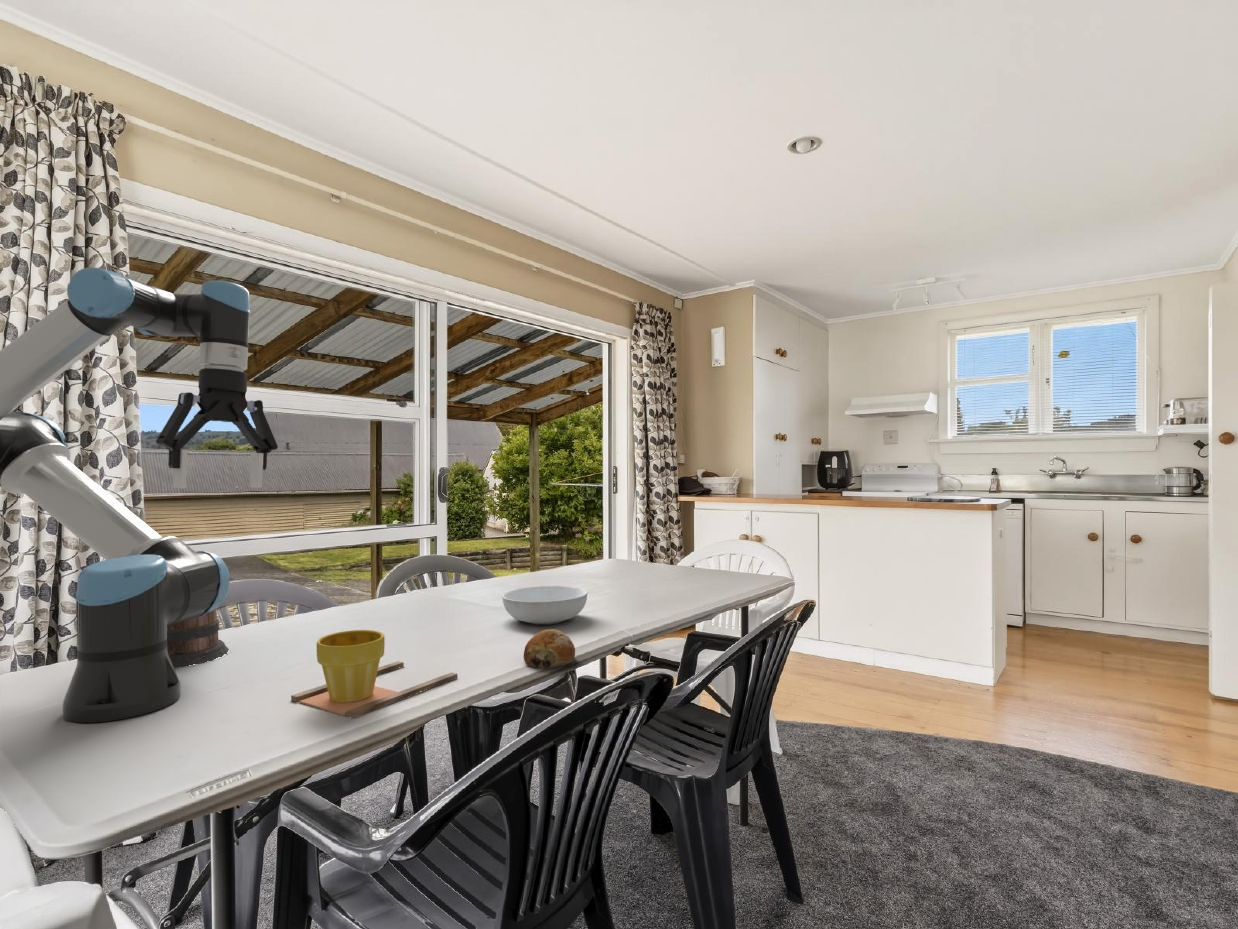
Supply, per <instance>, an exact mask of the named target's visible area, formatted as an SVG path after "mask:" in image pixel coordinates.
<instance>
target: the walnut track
mask: <svg viewBox="0 0 1238 929" xmlns="http://www.w3.org/2000/svg"><path fill="white" fill-rule="evenodd" d="M404 664H405V663H404V662H403V661H399V660H397V661H395V662H390V663H388V664H386V665H382V666H378V671H377V676H379V674H380V675H383V674H385V673H388V672H387V671H389V672H391V671H394V670H398V669H400V668H399V667H401V668H403V667H404ZM397 668H398V669H397ZM455 678H457V679H458V678H459V677H458V673H457V672H449V673H446V674H443V675H441V676H438V677H436V678H435V677H434V678H432V679H430V680H427V681H425V682H422V683H419V684H415V685H414V686H411V687H409V688H405V689H402V690H400V691H397V693H394V694H392V695H389V696H386V697H384V698H381V699H378V700H375V701H373V702H370V703H367V704H365V705H362V706H359V707H356V708H354V709H351V710H348V711H347V714H346V717H348V718H351V719H354V718H357V717H360V716H362V715H365V714H368V713H370V712H373V711H376V710H377V709H378V710H379V709H380V708H383V707H386V706H390V705H392V704H393V703H396V702H398V701H401V699H402V700H404V699H406V698H409V697H408V696H410V697H412V696H414V694H415V695H417V694H416V693H418V694H419V692H420V691H423V692H425V691H427V690H426V689H428V690H430V689H429V688H431V689H433V688H435V686H436V687H437V685H438V686H440V685H439V684H441V685H444V684H446V683H448V682H447V681H449V682H451V681H453V679H454V680H456V679H455ZM445 682H446V683H445ZM443 683H444V684H443ZM424 690H425V691H424ZM325 692H328V689H327V685H326V684H323V685H320V686H316V687H313V688H311V689H307V690H305V691H301V692H297V693H295V694H292V695H290V700H291V701H292V702H295V703H296V702H300V701H301V700H304V699H307V698H310V697H313V696H316V695H319V694H322V693H325ZM420 693H421V692H420ZM411 695H412V696H411ZM403 698H404V699H403Z"/></svg>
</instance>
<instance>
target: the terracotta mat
mask: <svg viewBox="0 0 1238 929" xmlns="http://www.w3.org/2000/svg"><path fill="white" fill-rule="evenodd" d="M397 692H398V690H397V691H396V690H394V689H393V690H392V689H389V688H384V687H379V686H376V685H375V686H374V690H373V694H372V695H371V696H370V697H368V698H366V699H364V700H361V701H357V702H351V703H336V702H333V701H331V700H330V697H329V693H328V692H325V693H322V694H319V695H316V696H313V697H310V698H307V699H304V700H301V701H299V703H300V704H303V705H306V706H309V707H313V708H316V709H320V710H324V711H327V712H330V713H333V714H337V715H340V716H347V711H348V710H351V709H354V708H356V707H359V706H362V705H365V704H367V703H370V702H373V701H375V700H378V699H381V698H384V697H386V696H389V695H392V694H394V693H397Z"/></svg>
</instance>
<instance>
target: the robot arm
mask: <svg viewBox="0 0 1238 929" xmlns="http://www.w3.org/2000/svg"><path fill="white" fill-rule="evenodd" d="M66 295H67V299H66V300H65V301H64V302H62V303H61V304H59V305H58V306H57V307H55V309H53V310H52V311H50V312H49V313H48V314H47V315H45V316H44V317H43V318H41V319H40V320H39V321H37V323H35V324H34V325H32V326H31V327H30V328H28V329H27V330H26V331H24V332H23V333H22V334H21V335H19V336H17V337H16V338H15V339H14V340H13V341H11V342H10V343H9V344H7V345H6V346H5V347H3V348H1V350H0V488H1V489H2V490H4V491H5V492H6V493H9V494H13V495H21V494H24V495H26V496H27V497H28V498H29V499H30V500H32V501H33V502H34V503H35V504H36V505H38V506H39V507H40V508H41V509H43V510H44V511H45V512H46V513H47V514H49V515H50V516H51V517H52V518H53V519H55V520H56V521H57V522H59V523H60V524H61V525H62V526H64V527H65V528H66V529H67V530H68V531H69V532H71V533H72V534H73V535H74V536H76V537H77V538H78V539H79V540H80V541H81V542H83V543H84V544H85V545H87V546H88V548H90V549H91V550H92V551H94V552H95V553H96V554H98V555H99V556H100V557H101V558H102V559H103V560H101V561H98V562H94V563H93V564H92V563H91V564H90V565H88V566H86V567H85V568H83V569H82V570H81V571H80V573H78V576H77V582H76V584H77V586H76V591H75V595H74V596H75V602H76V606H75V608H76V651H77V652H76V654H77V658H76V659H77V661H76V662H77V663H76V667H75V669H74V672H73V675H72V677H71V680H70V683H69V685H68V688H67V691H66V694H65V696H64V699H63V700H62V701H63V702H62V718H63V719H64V720H65V721H68V722H73V723H101V722H103V723H104V722H111V721H117V720H123V719H130V718H134V717H137V716H142V715H145V714H149V713H152V712H156V711H159V710H162V709H163V708H166V707H168V706H171V705H172V704H174V703H175V702H176V701H178V700H179V699H180V697H181V683H180V679H179V677H178V675H177V672H176V670H175V669H176V668H174V667H173V664H172V662H171V660H170V657H169V655H168V652H167V627H168V626H171V625H174V624H177V623H180V622H183V621H186V620H189V619H192V618H198V617H201V616H203V615H205V614H206V613H208V612H210V611H212V610H214V609H217V608H218V607H219V606H220V605H221V604H222V603H223V602H224V601H225V599H226V597H227V595H228V593H229V589H230V584H231V583H230V576H231V575H230V572H229V568H228V566H227V564H226V563H225V561H224V560H223V559H222V558H221V557H220V556H219V555H217V554H215V553H213V552H209V551H205V550H199V551H195V550H193V549H192V548H191V547H190V546H189V545H187V544H186V543H185V542H184V541H182V540H181V539H180V538H179V537H176V536H164V537H163V535H160V534H159V533H158V532H157V531H156V530H154V529H153V528H152V527H151V526H150V525H148V524H147V523H146V522H145V521H144V520H142V519H141V518H140V517H139V516H137V515H136V514H135V513H134V512H133V511H131V510H130V509H129V508H128V507H126V506H125V505H123V503H121V502H120V501H119V500H118V499H116V498H115V497H114V496H113V495H112V494H110V493H109V492H108V491H106V490H105V489H104V488H102V486H100V485H99V484H98V483H97V482H95V481H94V480H93V479H92V478H90V477H89V476H88V475H87V474H85V472H83V471H82V470H80V469H79V468H78V467H77V466H75V465H74V464H73V463H72V462H71V460H70V459H71V452H70V450H69V448H68V443H67V442H65V440H66V436H65V434H64V432H63V431H62V429H61V427H59V426H58V424H56V423H55V422H54V421H52V420H51V419H49V418H47V417H45V416H41V415H38V414H33V413H31V412H25V411H16V409H17V408H19V406H21V405H22V404H23V403H25V402H26V401H28V400H29V399H30V398H31V397H33V395H34V396H35V394H36V393H38V392H39V391H41V390H42V389H43V388H45V387H46V386H47V385H48V384H50V383H51V382H52V381H54V380H55V379H56V378H57V377H59V376H60V375H61V374H63V373H64V372H66V371H67V370H68V369H69V368H70V367H72V366H73V365H75V364H76V363H77V362H78V361H80V360H81V359H82V358H85V356H86V355H88V354H90V353H91V351H93V350H94V349H96V348H97V347H98V346H99V345H101V344H102V343H103V342H105V341H106V340H107V339H109V338H110V337H112V336H113V335H114V334H115V333H117V332H118V331H119V330H121V329H123V327H125V326H130V327H133V328H135V329H136V331H138V333H140V334H142V335H145V336H157V337H159V338H165V337H199V341H200V342H199V362H198V364H199V366H200V367H202V368H201V369H199V371H198V386H197V387H198V389H199V390H198V391H199V392H198V395H197V394H194V393H193V392H191V391H190V392H180V393H179V394H178V399H177V404H176V406H175V408H174V410H173V412H172V413H171V415H170V417H169V418H168V420H167V422H166V424H165V425H164V426H163V428H162V430H161V432H160V434H159V435H158V437H157V438H156V440H155V443H156V444H157V445H158V446H162V447H165V449H166V450H168V461H167V462H168V463H167V465H168V467H169V469H172V472H173V473H172V489H187V474H188V473H187V471H188V466H187V465H188V450H187V449H186V450H185V449H183V448H184V447H185V446H186V444H188V443H189V442H190V441H191V439H193V437H194V436H195V435H196V434H197V433H199V431H201V429H203V427H204V426H205V425H206V424H208V423H209V422H222V423H232V424H233V425H234V426H235V427H237V429H238V430H239V431H240V433H241V434H242V435H243V437H244V438H245V439H246V441H247V442H248V443H249V445H250V446H251V447H252V449H253V450H254V451H255V452H250V466H249V467H250V469H249V471H250V472H249V473H250V474H249V488H255V489H256V488H257V489H262V488H263V479H264V478H263V477H264V476H263V475H264V474H263V472H264V471H266V469H267V464H268V463H267V462H268V454H271V452H272V451H276V450H277V449H278V448H279V447H278V443H277V441H276V439H275V436H274V434H273V431H272V429H271V427H270V425H269V422H268V420H267V418H266V415H265V413H264V406H263V405H264V404H263V401H262V400H261V399H258V400H257V399H254V400H252V399H251V400H247V398H246V394H247V391H248V374H247V373H246V372H244V371H246V370H248V360H249V358H248V354H249V329H250V328H249V327H250V316H251V315H250V314H251V310H250V293H249V290H248V289H247V288H246V287H244V286H243V285H240V284H237V283H234V282H231V281H223V280H210V281H207V280H206V281H205V282H203V283H202V285H201V290H200V293H195V294H191V293H190V294H188V293H172V292H170V291H167V290H164V289H161V288H158V287H157V286H153V285H150V284H147V283H144V282H140V281H138V280H136V279H135V280H134V279H133V278H131V277H127V276H126V275H124V274H121V273H120V272H117V271H112V270H108V269H103V268H100V267H94V266H93V267H91V266H90V267H84V268H81V269H80V270H77V271H76V272H75V273H74V274H73V275H72V276H71V280H70V282H69V283H68V284H67V288H66ZM196 404H197V406H198V407H199V408H200V410H198V411H197V412H196V413H195V414H194V416H193V418H192V419H191V420H190V421H189V422H188V423H187V424H186V425H185V426H184V427H183V428H182V425H183V424H184V422H185V421H186V418H187V417H188V415H189V413H190V412H191V410H192V408H193V407H194V406H195V405H196ZM14 410H15V411H14ZM245 410H246V411H248V412H249V414H250V418H251V420H252V422H253V424H254V427H255V428H254V427H253V425H252V423H251V422H250V419H249V418H248V416H247V414H246V413H245V412H244V411H245ZM181 428H182V429H181ZM180 429H181V430H180Z"/></svg>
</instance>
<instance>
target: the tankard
mask: <svg viewBox="0 0 1238 929" xmlns="http://www.w3.org/2000/svg"><path fill="white" fill-rule="evenodd" d="M217 611H218V610H217V608H216V609H214V610H212V611H210V612H208V613H206V614H205V615H203V616H201V617H198V618H192V619H189V620H186V621H183V622H180V623H177V624H174V625H171V626H168V627H167V652H168V655H169V657H170V660H171V662H172V664H173V667H174V669H179V668H178V667H180V668H187V667H190V666H189V665H193V664H198V665H201V664H206V663H208V662H207V661H210V662H214V661H215V660H214V659H216V658H218V657H222V656H223V655H224V654H227V652H228V650H229V649H230V648H229V647H227V645H226V644H225V641H224V640H223V641H222V640H221V639H219V630H220V620H219V619H218V616H217V615H218V613H217ZM228 648H229V649H228ZM227 655H228V654H227ZM222 658H223V657H222ZM213 660H214V661H213ZM205 662H206V663H205ZM186 666H187V667H186ZM193 666H194V665H193ZM176 667H177V668H176Z"/></svg>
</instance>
